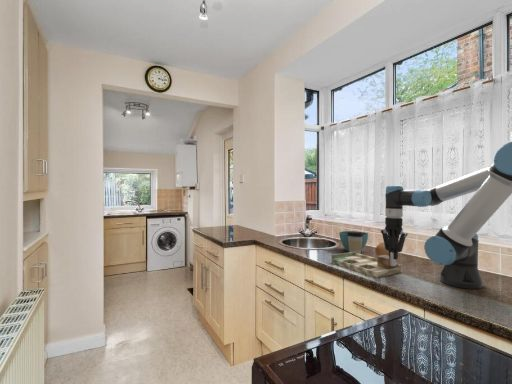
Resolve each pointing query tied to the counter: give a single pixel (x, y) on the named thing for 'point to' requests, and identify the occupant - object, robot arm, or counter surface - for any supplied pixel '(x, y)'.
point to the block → (384, 262)
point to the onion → (381, 250)
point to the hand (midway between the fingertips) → (393, 265)
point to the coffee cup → (355, 241)
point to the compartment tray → (363, 264)
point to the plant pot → (345, 239)
